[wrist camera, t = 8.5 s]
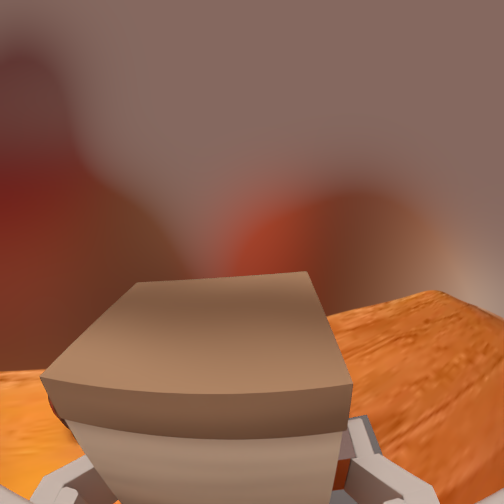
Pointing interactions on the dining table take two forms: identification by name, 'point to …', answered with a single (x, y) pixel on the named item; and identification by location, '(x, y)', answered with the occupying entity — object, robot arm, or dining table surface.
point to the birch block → (209, 392)
